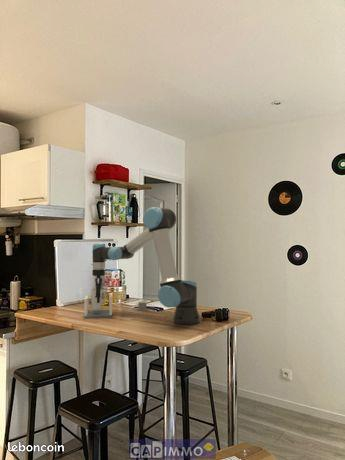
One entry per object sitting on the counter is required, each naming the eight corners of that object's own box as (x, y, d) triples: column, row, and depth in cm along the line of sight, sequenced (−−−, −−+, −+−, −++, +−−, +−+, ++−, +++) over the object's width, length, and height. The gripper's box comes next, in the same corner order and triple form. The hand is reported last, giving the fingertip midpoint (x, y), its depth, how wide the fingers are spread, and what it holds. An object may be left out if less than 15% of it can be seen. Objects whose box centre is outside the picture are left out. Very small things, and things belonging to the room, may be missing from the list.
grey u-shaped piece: (111, 317, 212) (111, 298, 212) (84, 318, 210) (84, 299, 210) (112, 313, 226) (112, 294, 226) (86, 314, 224) (86, 295, 224)
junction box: (146, 310, 234) (146, 302, 234) (138, 310, 233) (138, 303, 234) (145, 308, 240) (145, 301, 240) (138, 309, 239) (138, 301, 240)
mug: (94, 310, 213) (94, 290, 213) (88, 309, 218) (88, 289, 218) (108, 308, 220) (108, 288, 220) (103, 307, 225) (103, 288, 225)
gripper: (93, 267, 228) (93, 304, 227) (91, 270, 208) (91, 310, 208) (105, 267, 229) (105, 303, 228) (104, 270, 209) (104, 309, 209)
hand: (98, 306), depth 218 cm, fingers closed on mug, 7 cm apart
